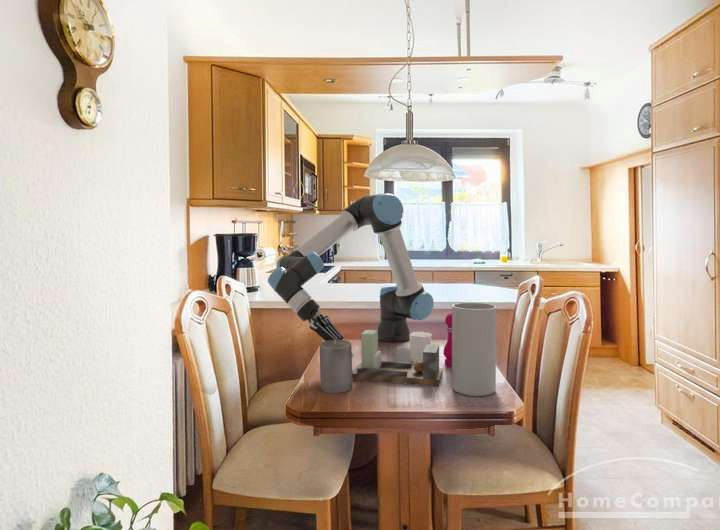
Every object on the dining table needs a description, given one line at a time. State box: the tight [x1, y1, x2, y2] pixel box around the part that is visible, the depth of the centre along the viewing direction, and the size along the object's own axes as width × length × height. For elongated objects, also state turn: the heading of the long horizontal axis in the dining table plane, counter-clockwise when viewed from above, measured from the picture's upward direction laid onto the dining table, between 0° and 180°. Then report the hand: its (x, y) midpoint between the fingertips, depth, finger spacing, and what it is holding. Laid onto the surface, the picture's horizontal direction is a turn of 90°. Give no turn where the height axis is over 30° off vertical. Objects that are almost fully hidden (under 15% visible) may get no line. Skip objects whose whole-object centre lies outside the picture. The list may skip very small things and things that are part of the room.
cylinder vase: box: [451, 302, 497, 397], centre depth 134 cm, size 12×12×25 cm
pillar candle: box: [319, 339, 353, 394], centre depth 138 cm, size 10×10×15 cm
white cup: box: [409, 331, 433, 364], centre depth 165 cm, size 8×8×10 cm
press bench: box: [352, 343, 444, 387], centre depth 148 cm, size 28×12×10 cm, turn 75°
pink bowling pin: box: [443, 309, 452, 368], centre depth 160 cm, size 7×7×20 cm
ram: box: [360, 329, 382, 369], centre depth 150 cm, size 5×7×12 cm
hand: (352, 357), depth 152 cm, fingers closed
